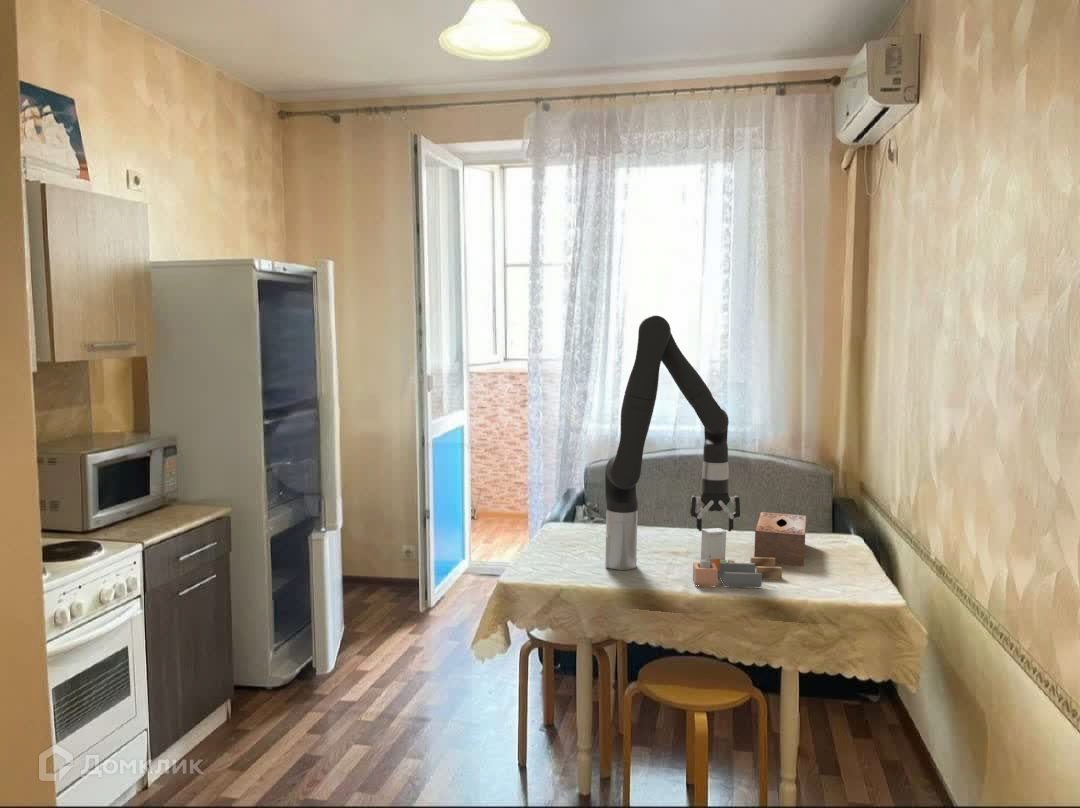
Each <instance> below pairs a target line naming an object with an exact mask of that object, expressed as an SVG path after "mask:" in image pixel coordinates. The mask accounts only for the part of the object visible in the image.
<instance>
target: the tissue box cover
mask: <svg viewBox="0 0 1080 808" xmlns="http://www.w3.org/2000/svg"><path fill="white" fill-rule="evenodd" d="M806 525H807V515H803V514H789V513H780V512H779V513H776V512H767V511H764V512H763V511H761V512H760V514H759V517H758V521H757V523H756V527H755V532H754V550H753V551H754V553H753V555H754V556H753V557H770V558H775V565H782V564H783V565H785V566H794V567H802V568H803V567H804V565H805V551H806V550H805V549H806V548H805V547H806V530H807V529H806V527H807V526H806Z"/></svg>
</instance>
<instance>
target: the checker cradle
mask: <svg viewBox="0 0 1080 808" xmlns="http://www.w3.org/2000/svg"><path fill="white" fill-rule="evenodd" d="M719 576H720V577H719ZM718 577H719V579H720V578H721V579H720V580H722V581H721V583H722V582H723V583H722V584H724V585H723V587H724V586H729V587H728V588H735V587H761V588H762V581H763V580H762V579H763V578H762V574H761V573H755V563H750V562H735V560H734V559H725V560H720V562H719V571H718Z"/></svg>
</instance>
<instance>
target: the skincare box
mask: <svg viewBox="0 0 1080 808" xmlns="http://www.w3.org/2000/svg"><path fill="white" fill-rule="evenodd" d="M726 542H727V531H726V530H725V529H722V528H721V527H719V528H718V527H715V528H714V527H713V528H702V531H701V546H700V547H701V549H700V560H703V559H705V560H710V563H715V565H716V567H717V569H718V571H717V572H719V562H720V560H726V544H727V543H726Z"/></svg>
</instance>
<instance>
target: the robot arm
mask: <svg viewBox="0 0 1080 808" xmlns="http://www.w3.org/2000/svg"><path fill="white" fill-rule="evenodd" d="M671 330H672V328H671V324H669V322H668V320H667V319H666V318H664V317H663V316H661V315H654V314H653V315H649V316H647V317H645V318H644V319H643V320H642V321H641V323H640V324H639V326H638V334H637V335H638V336H637V337H638V338H637V346H636V353H635V359H634V363H633V365H632V369H631V371H630V375H629V378H628V381H627V383H626V387H625V389H624V390H625V391H624V396H623V400H622V405H621V410H620V435H619V443H618V447H617V451H616V454H615V455H614V456H612V457H611V458H609V460H608V461H607V463H606V466H605V477H604V478H605V479H604V481H605V486H604V488H605V491H604V492H605V502H606V503H605V504H606V515H605V516H606V519H605V522H606V525H605V530H606V531H605V560H604V561H605V568H606V569H611V570H619V571H620V570H621V571H627V570H634V569H636V567H637V560H638V559H637V557H638V556H637V555H638V553H637V552H638V548H637V547H638V511H639V508H638V507H639V503H638V497H637V490H636V489H637V488H636V487H637V486H636V485H637V483H638V482H639V481H640V479H641V473H642V464H643V454H644V449H645V443H646V439H647V436H648V432H649V429H650V425H651V422H652V418H653V413H654V409H655V405H656V400H657V396H658V395H657V394H658V388H659V380H660V379H659V377H660V367H661V363H662V364H663V365H664V366H665V368H666V369H667V371H668V373H669V374H670V376H671V378H672V379H673V381H674V383H675V384H676V386H677V388H678V389H679V391H680V392H681V393H682V396H683V397H684V398H685V400H686V401H687V402H688V404H689V405H690V406H691V408H692V409H693V410H694V412H695V414H696V416H697V417H698V419H699V420H700V422H701V424H702V426H703V428H704V432H703V433H704V444H703V454H702V455H703V457H702V459H703V460H702V461H703V463H702V469H701V470H702V471H701V476H702V477H701V478H702V481H701V482H702V483H701V486H702V487H701V488H702V489H701V496H695V494H693V495H691V496H690V508H689V514H690V516H691V517H692V518H695V522H696V523H695V527H696V530H698V532H702V529H703V528H702V527H703V526H702V525H703V522H702V521H703V520H702V517H703V516H704V515H705V514H706V513H707V511H709V512H722V511H724V512H725V514H726V515H727V516H728V517H727V532H732V531H733V530H734V519H736V518H740V517H741V503H740V500H741V499H740V497H739V496H738V495H737V494H736V495H734V496H730V495H729V482H730V481H729V478H730V477H729V475H730V474H729V471H730V469H729V448H728V435H729V434H728V432H729V423H730V421H729V415H728V414H727V412H726V411H725V410H724V409H722V408H721V406H720V405H719V404H718V402H717V401H716V400H715V398H714V396H713V393H712V392H711V390H710V388H709V387H708V386H707V384H706V382H705V381H704V380H703V377H701V376H700V374H699V373H698V372H697V370H696V369H695V368H694V366H693V365H692V364H691V363H690V361H688V359H687V358H686V357H685V355H684V354H683V353H682V351H681V349H680V348H679V346H678V345H677V342H676V340H675V338H674V337H673V334H672V331H671ZM730 501H731V503H732V504H733V505H734V506H733V508H734V512H731V510H730V509H729V508H728V506H727V505H728V504H729V503H730ZM699 502H701V503H702V504H703V505H702V506H701V507H700V508H699V510H697V511H698V512H696V507H697V506H696V505H697V504H699Z"/></svg>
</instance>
